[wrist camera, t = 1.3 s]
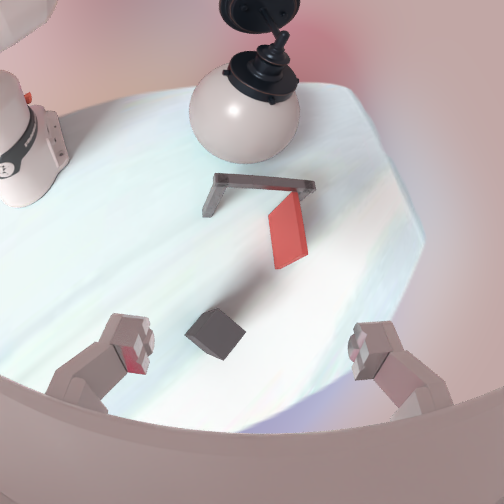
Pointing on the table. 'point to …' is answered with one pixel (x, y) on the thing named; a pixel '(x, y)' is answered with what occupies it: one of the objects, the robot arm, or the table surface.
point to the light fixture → (249, 89)
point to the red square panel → (287, 232)
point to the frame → (253, 187)
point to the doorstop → (215, 333)
